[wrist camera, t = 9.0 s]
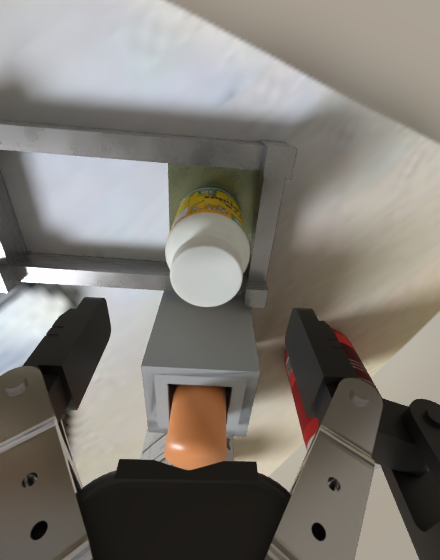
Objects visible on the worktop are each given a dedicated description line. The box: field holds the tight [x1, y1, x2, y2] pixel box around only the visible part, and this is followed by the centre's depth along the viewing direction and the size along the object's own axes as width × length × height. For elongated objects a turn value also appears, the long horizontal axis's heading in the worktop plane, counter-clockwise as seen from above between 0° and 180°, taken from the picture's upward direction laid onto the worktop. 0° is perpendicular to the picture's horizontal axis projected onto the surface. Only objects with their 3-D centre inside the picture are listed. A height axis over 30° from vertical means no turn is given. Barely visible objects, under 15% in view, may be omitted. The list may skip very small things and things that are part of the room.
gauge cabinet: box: [141, 291, 260, 436], centre depth 25 cm, size 8×8×10 cm
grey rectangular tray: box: [0, 121, 297, 308], centre depth 21 cm, size 23×12×4 cm, turn 86°
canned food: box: [285, 329, 382, 470], centre depth 27 cm, size 8×8×11 cm
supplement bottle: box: [165, 188, 250, 307], centre depth 19 cm, size 5×5×10 cm
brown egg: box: [164, 384, 227, 470], centre depth 20 cm, size 4×4×6 cm
